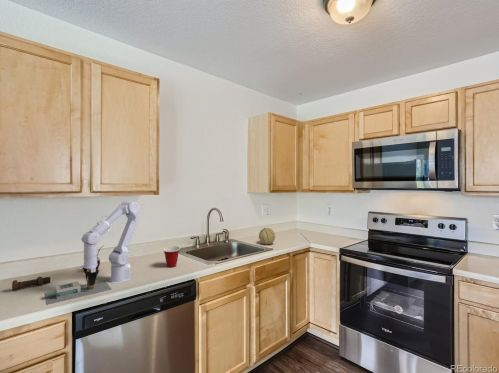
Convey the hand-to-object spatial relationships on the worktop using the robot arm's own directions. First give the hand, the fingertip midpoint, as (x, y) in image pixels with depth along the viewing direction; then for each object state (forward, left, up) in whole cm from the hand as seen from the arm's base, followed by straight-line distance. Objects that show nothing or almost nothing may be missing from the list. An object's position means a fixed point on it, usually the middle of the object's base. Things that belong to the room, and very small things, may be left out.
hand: (90, 282), depth 131 cm
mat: (+5, 0, -3) cm, 6 cm away
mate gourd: (-7, -31, -4) cm, 32 cm away
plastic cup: (-47, -9, -4) cm, 48 cm away
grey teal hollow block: (+11, 0, -3) cm, 12 cm away
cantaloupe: (-139, -14, -4) cm, 140 cm away
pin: (0, 0, -3) cm, 3 cm away
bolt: (+22, -23, -4) cm, 32 cm away
